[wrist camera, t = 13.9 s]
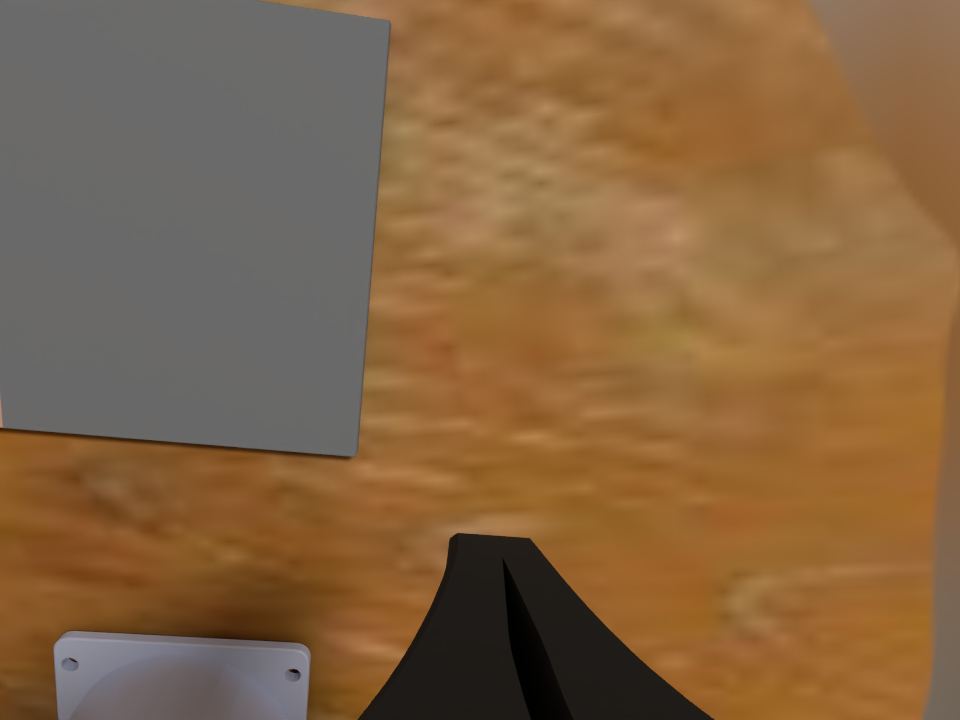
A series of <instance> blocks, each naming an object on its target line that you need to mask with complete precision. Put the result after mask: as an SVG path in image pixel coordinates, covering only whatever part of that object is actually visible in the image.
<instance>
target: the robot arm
mask: <svg viewBox="0 0 960 720" xmlns="http://www.w3.org/2000/svg"><path fill="white" fill-rule="evenodd" d="M53 651H54V666H55V681H56V696H57V711H58V720H307V709H308V693H309V677H310V661H311V654H310V651H309V649H308V648H307V647H306V646H305V645H303V644H300V643H292V642H273V641H254V640H235V639H216V638H198V637H179V636H160V635H141V634H122V633H103V632H84V631H69V632H66V633H64V634H63V635H62V636H61V637H60V638H59V640H58V641H57V642H56V643H55V645H54V649H53ZM69 658H73V659H75V660H76V661H77V662H78V663H76V662H73V661H71V660H70V659H69ZM289 669H296V670H298V671H299V673H292V672H290V671H289ZM358 720H714V719H713V718H711V717H710V716H709V715H707V714H706V713H705V712H703V711H702V710H701V709H699V708H698V707H697V706H695V705H694V704H693V703H692V702H690V701H689V700H688V699H686V698H685V697H684V696H683V695H682V694H680V693H679V692H678V691H677V690H676V689H674V688H673V687H672V686H671V685H669V684H668V683H667V682H666V681H665V680H663V679H662V678H661V677H660V676H659V675H657V674H656V673H655V672H654V671H653V670H651V669H650V668H649V667H648V666H647V665H646V664H645V663H644V662H643V661H641V660H640V659H639V658H638V657H637V656H636V655H635V654H634V653H633V652H632V651H631V650H630V649H629V648H628V647H627V646H626V645H625V644H624V643H623V642H622V641H620V640H619V639H618V638H617V637H616V636H615V635H614V634H613V633H612V632H611V631H610V630H609V629H608V628H607V627H606V626H605V625H604V624H603V623H602V621H601V620H600V619H599V618H598V617H597V616H596V615H595V614H594V613H593V612H592V611H591V610H590V609H589V608H588V607H587V605H586V604H585V603H584V602H583V601H582V600H581V599H580V598H579V597H578V595H577V594H576V593H575V592H574V591H573V590H572V589H571V587H570V586H569V585H568V584H567V583H566V582H565V580H564V579H563V578H562V577H561V576H560V574H559V573H558V572H557V571H556V570H555V568H554V567H553V566H552V565H551V563H550V562H549V561H548V560H547V559H546V557H545V556H544V555H543V554H542V552H541V551H540V550H539V549H538V548H537V546H536V545H535V544H534V543H533V542H532V540H531V539H530V538H520V537H506V536H492V535H478V534H464V533H457V534H455V535H454V536H453V537H451V538H450V541H449V549H448V557H447V565H446V570H445V573H444V576H443V579H442V581H441V584H440V586H439V589H438V591H437V593H436V596H435V598H434V601H433V603H432V605H431V607H430V610H429V612H428V613H427V615H426V617H425V619H424V621H423V623H422V625H421V627H420V629H419V630H418V632H417V634H416V636H415V638H414V640H413V642H412V643H411V645H410V647H409V648H408V650H407V652H406V653H405V655H404V656H403V658H402V660H401V661H400V663H399V664H398V666H397V667H396V669H395V670H394V672H393V673H392V675H391V676H390V678H389V679H388V681H387V682H386V683H385V685H384V686H383V687H382V689H381V690H380V691H379V693H378V694H377V695H376V697H375V698H374V699H373V701H372V702H371V703H370V705H369V706H368V707H367V708H366V710H365V711H364V712H363V714H362V715H361V716H360V717H359V719H358Z"/></svg>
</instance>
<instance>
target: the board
mask: <svg viewBox="0 0 960 720" xmlns="http://www.w3.org/2000/svg"><path fill="white" fill-rule="evenodd" d="M390 31H391V23H390V21H389V20H383V19H376V18H369V17H363V16H356V15H350V14H343V13H336V12H330V11H323V10H316V9H310V8H303V7H296V6H290V5H283V4H277V3H270V2H263V1H257V0H0V428H11V429H23V430H35V431H48V432H60V433H72V434H84V435H96V436H108V437H120V438H133V439H145V440H157V441H169V442H181V443H193V444H206V445H218V446H230V447H242V448H254V449H266V450H278V451H291V452H303V453H315V454H327V455H339V456H351V457H356V455H357V451H358V441H359V428H360V415H361V402H362V390H363V377H364V364H365V351H366V338H367V325H368V313H369V300H370V287H371V274H372V261H373V249H374V236H375V223H376V210H377V197H378V184H379V172H380V159H381V146H382V133H383V120H384V107H385V95H386V82H387V69H388V56H389V43H390Z"/></svg>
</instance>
